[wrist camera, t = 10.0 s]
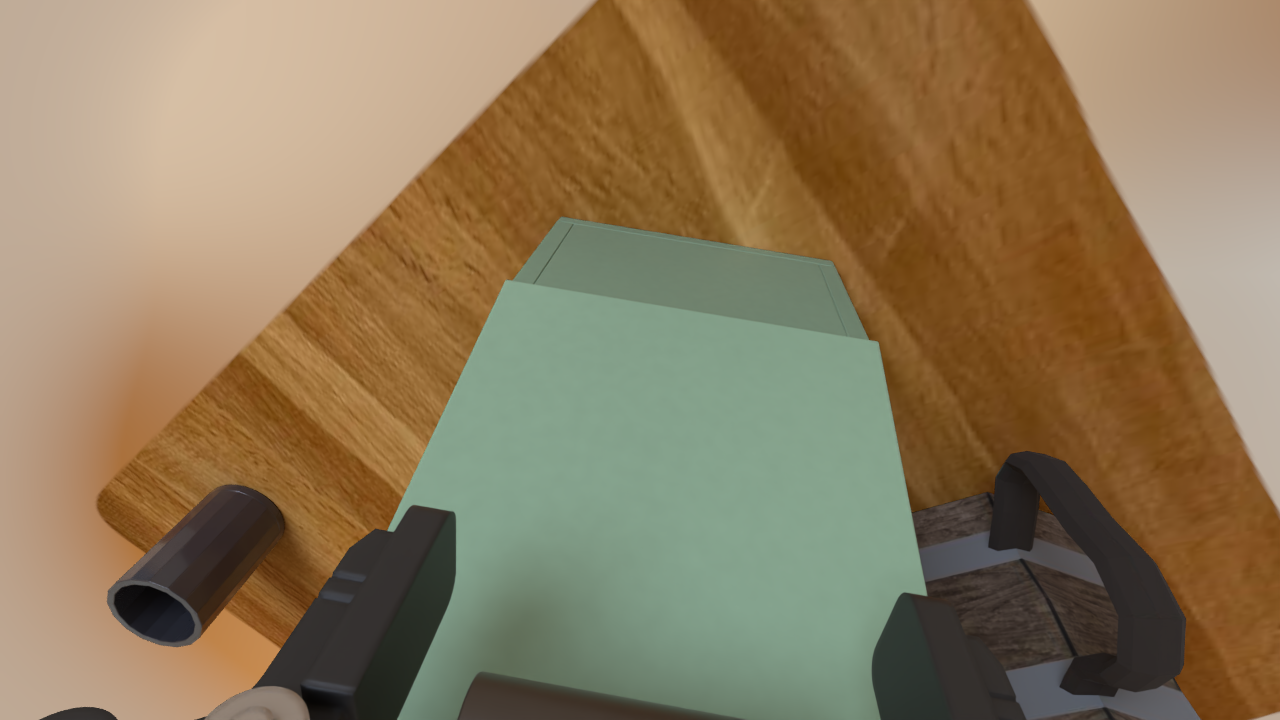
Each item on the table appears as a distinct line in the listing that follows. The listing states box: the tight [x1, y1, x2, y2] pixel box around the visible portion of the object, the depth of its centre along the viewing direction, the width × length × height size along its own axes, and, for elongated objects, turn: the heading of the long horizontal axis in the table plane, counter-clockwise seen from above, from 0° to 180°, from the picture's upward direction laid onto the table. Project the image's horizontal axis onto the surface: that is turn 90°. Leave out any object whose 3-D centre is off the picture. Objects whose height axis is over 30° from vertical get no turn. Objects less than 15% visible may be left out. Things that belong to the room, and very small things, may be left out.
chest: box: [513, 217, 869, 340], centre depth 31 cm, size 17×13×9 cm
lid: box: [387, 280, 927, 720], centre depth 15 cm, size 18×13×5 cm
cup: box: [107, 485, 284, 647], centre depth 39 cm, size 5×5×8 cm
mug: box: [912, 451, 1201, 720], centre depth 31 cm, size 20×14×15 cm
